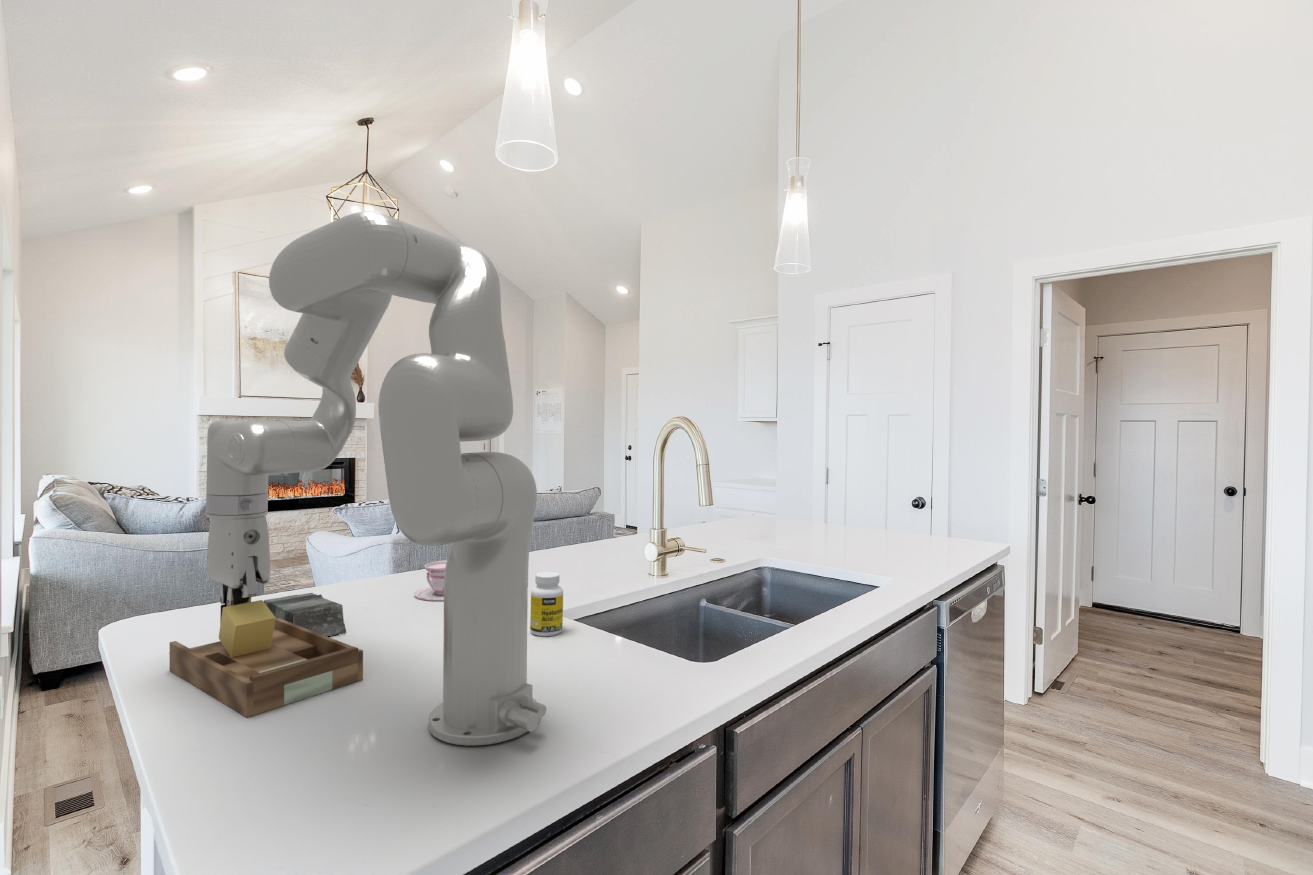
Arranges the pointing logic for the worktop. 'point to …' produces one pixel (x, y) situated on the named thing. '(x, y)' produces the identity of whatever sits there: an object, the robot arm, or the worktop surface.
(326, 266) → the robot arm
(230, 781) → the worktop surface
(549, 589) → the supplement bottle
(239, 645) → the block
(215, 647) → the box
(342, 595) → the worktop surface
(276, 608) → the stone block
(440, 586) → the teacup
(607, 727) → the worktop surface
